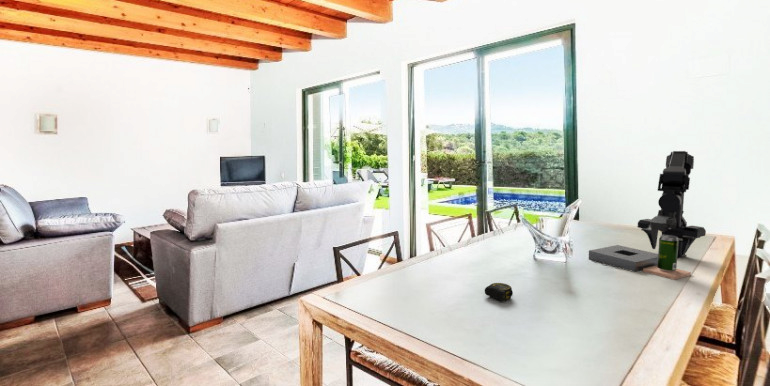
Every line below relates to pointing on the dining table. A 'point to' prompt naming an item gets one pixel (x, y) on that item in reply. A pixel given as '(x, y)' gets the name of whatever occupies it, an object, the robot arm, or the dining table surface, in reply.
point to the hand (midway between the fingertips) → (668, 252)
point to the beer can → (667, 253)
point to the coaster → (671, 275)
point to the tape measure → (499, 291)
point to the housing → (624, 257)
